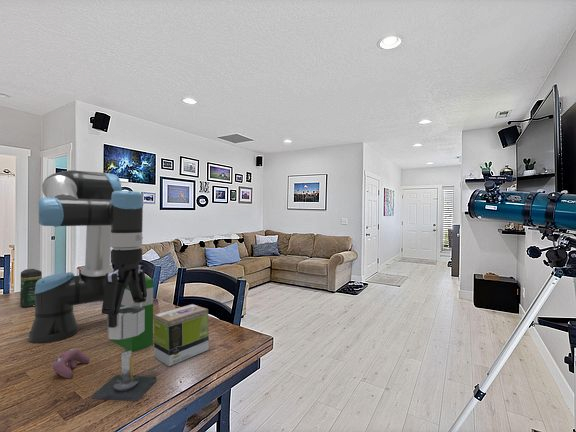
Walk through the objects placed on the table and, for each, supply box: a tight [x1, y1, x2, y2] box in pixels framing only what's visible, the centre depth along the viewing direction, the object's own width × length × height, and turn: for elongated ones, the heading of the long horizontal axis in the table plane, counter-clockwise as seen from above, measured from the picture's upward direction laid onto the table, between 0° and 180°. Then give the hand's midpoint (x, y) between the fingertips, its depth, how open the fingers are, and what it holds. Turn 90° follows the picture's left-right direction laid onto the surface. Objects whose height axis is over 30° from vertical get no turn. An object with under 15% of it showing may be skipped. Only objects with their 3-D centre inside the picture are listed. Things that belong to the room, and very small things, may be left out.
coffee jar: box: [19, 268, 43, 308], centre depth 150 cm, size 10×8×19 cm
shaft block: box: [92, 349, 157, 402], centre depth 79 cm, size 12×9×10 cm
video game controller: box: [51, 347, 90, 379], centre depth 88 cm, size 10×5×7 cm, turn 6°
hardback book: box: [108, 276, 154, 353], centre depth 108 cm, size 18×7×24 cm, turn 54°
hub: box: [106, 306, 145, 339], centre depth 79 cm, size 8×8×6 cm
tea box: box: [153, 303, 210, 367], centre depth 100 cm, size 15×10×15 cm, turn 141°
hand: (126, 331), depth 79 cm, fingers closed on hub, 8 cm apart
